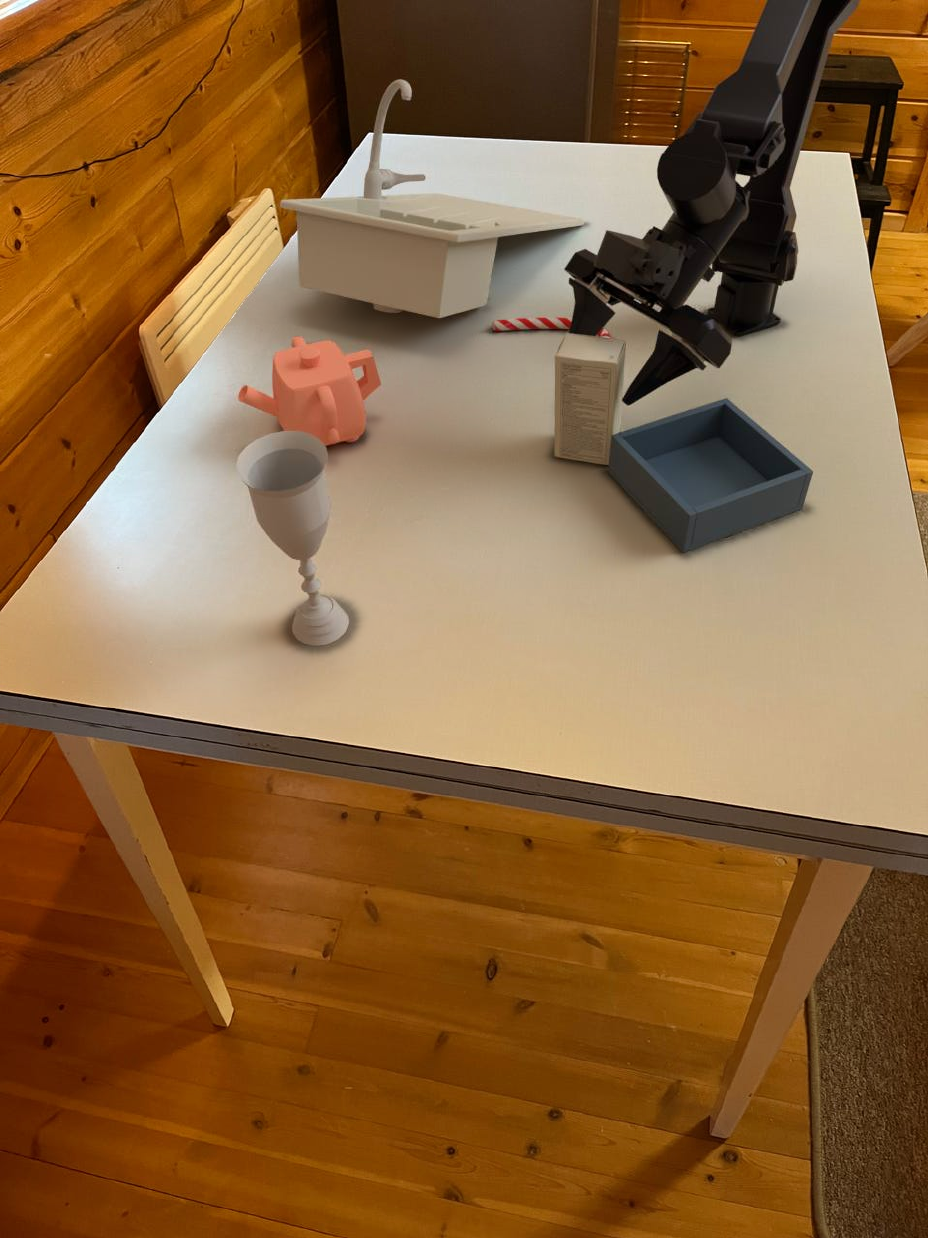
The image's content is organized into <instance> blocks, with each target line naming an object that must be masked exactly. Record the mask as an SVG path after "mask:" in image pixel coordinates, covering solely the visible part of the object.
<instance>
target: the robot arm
mask: <svg viewBox="0 0 928 1238" xmlns="http://www.w3.org/2000/svg"><path fill="white" fill-rule="evenodd" d="M860 2H861V0H766V2H765V4H764V7H763V9H762V11H761V14H760V16H759V19H758V21H757V23H756V26H755V27H754V31H753V32H752V35H751V38H750V40H749V42H748V45H747V47H746V49H745V52H744V53H743V56H742V59H741V61H740V63H739V65H738V67H737V69H736V70H735V71H734V72H733V73H732V74H730V75H729V76H728V77H726V78H724V79H723V80H721V81H720V82H719V83H718V84H717V85H716V86H715V87H714V89H713V91H712V93H711V95H710V97H709V99H708V100H707V103H706V104H705V106H704V108H703V110H702V111H700V112H699V113H697V115H696V117H695V118H694V120H692V122H691V123H690V124H689V126H688V128H687V129H686V130H685V132H684V133H683V134H682V135H681V136H679V137H677V138H676V139H675V140H673V141H672V142H671V143H670V144H669V145H668V146H667V147H666V148H665V150H664V151H663V152H662V153H661V154H660V157H659V160H658V163H657V168H656V176H657V177H656V178H657V181H658V185H659V187H660V189H661V191H662V193H663V195H664V197H665V198H666V201H667V203H668V204H669V206H670V208H671V210H672V214H671V216H670V217H669V218H668V219H667V222H666V223H665V224H664V226H663V227H662V229H660V228H659V227H656V226H655V225H654V226H652V228H650V229H648V230H647V232H646V233H645V234H644V236H643V237H642V238H639V237H636V236H633V235H631V234H625V233H621V232H617V231H613V230H608V229H606V231H605V232H604V236H603V238H602V241H601V243H600V246H599V249H598V251H597V254H596V253H595V252H592V251H591V250H589V249H586V248H583V249H581V250H577V251H576V252H574V254H573V255H572V256H571V258H570V260H569V261H568V262H567V264H566V265H565V267H564V269H563V270H564V271H565V272H566V273H567V274H568V275H569V276H570V277H568V284H569V286H571V287H572V291H573V297H574V306H573V312H572V317H571V318H572V321H571V326H570V329H568V332H567V333H570V334H579V335H588V336H596V335H597V334H598V333H599V332H600V331H601V329H602V328H605V326H606V325H607V324H608V323H609V322H610V321H611V319H612V318H613V317H615V315H616V312H615V311H614V310H613V309H612V308H611V307H612V306H615V305H617V304H621V303H622V304H624V305H625V306H627V307H629V308H631V309H633V310H634V311H636V312H638V313H640V314H641V315H643V316H645V317H646V318H648V319H649V320H651V321H653V322H655V323H656V324H659V325H660V326H662V327H663V328H665V329H667V330H669V331H670V332H671V333H672V334H671V335H670V334H668V333H666V332H665V331H662V330H660V329H658V331H657V334H656V335H657V336H656V339H655V344H654V349H653V352H652V353H651V354H650V356H649V357H648V359H647V360H646V361H645V363H644V364H643V365H642V367H641V369H640V370H639V372H638V373H637V375H636V376H635V377H634V379H633V380H632V382H631V383H630V385H629V386H628V387H627V389H626V392H624V394H623V397H622V403H624V405H626V406H627V407H628V406H631V405H633V404H635V403H637V402H638V401H639V400H641V399H643V398H645V397H647V396H648V395H649V394H651V393H652V392H654V391H656V390H657V389H659V388H660V387H663V386H664V385H666V384H667V383H669V382H672V381H673V380H676V379H677V378H679V377H681V376H683V375H685V374H688V373H690V372H692V371H693V370H696V369H699V370H700V371H704V370H705V369H707V365H706V364H705V362H706V363H708V364H710V365H711V366H713V367H714V368H716V369H721V367H722V366H723V364H724V363H725V361H726V360H727V359H728V357H729V356H730V355H731V352H732V347H733V346H732V345H733V338H732V337H731V336H730V335H729V334H728V333H727V332H726V331H725V329H726V330H728V331H729V332H730V333H732V334H733V335H734V336H737V337H740V336H743V335H747V334H750V333H753V332H757V331H760V330H763V329H766V328H771V327H773V326H776V325H779V324H780V323H781V321H782V318H781V317H779V316H778V315H776V314H775V313H774V309H775V304H776V300H777V295H778V291H779V286H780V287H782V286H783V285H784V284H785V283H786V282H787V283H788V282H791V281H793V280H794V279H795V275H796V272H797V265H798V255H799V245H798V239H797V233H796V231H794V228H795V224H796V220H797V211H796V208H795V203H794V199H793V194H792V190H791V185H792V182H793V178H794V174H795V171H796V168H797V164H798V162H799V161H798V160H799V157H800V155H801V150H802V147H803V143H804V140H805V136H806V132H807V129H808V126H809V123H810V120H811V119H810V118H811V115H812V111H813V108H814V104H815V102H816V98H817V94H818V91H819V87H820V84H821V82H822V81H821V80H822V76H823V74H824V70H825V66H826V62H827V59H828V56H829V53H830V50H831V49H830V48H831V45H832V43H833V39H834V36H835V34H836V33H837V32H838V31H839V29H841V28H842V26H843V25H844V24H845V23H846V21H848V19H849V18H850V17H851V16H852V15H853V14H854V13H855V11H856V10H857V9H858V7H859V5H860ZM737 175H740V176H745V177H749V179H748V181H747V182H746V183H745V185H744V186H742V185H741V184H740V183H739V182H738V181H737V180H736V179H737ZM717 272H718V273H721V278H720V284H718V285H717V288H716V295H715V301H714V306H712V307H710V308H707V312H706V313H707V314H705V313H703V312H701V311H700V310H698V309H697V308H694V307H692V306H691V305H688V304H685V303H686V302H687V300H688V299H689V297H690V296H691V295H692V293H693V291H694V290H695V289H696V287H697V286H698V284H699V283H700V282H701V280H703V281H705V282H707V283H710V282H711V280H712V278H713V277H714V276H715V275H716V273H717ZM655 306H657V307H659V308H661V309H660V310H659V311H658V310H657V309H655V308H654V307H655ZM718 323H719V324H718ZM721 326H723V327H724V328H725V329H724V328H722V327H721Z"/></svg>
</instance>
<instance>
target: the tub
mask: <svg viewBox="0 0 928 1238" xmlns="http://www.w3.org/2000/svg"><path fill="white" fill-rule="evenodd" d="M607 472H608V474H609V475H610V476H611V477H612V478H613V479H614V481H616V482H617V483H618V485H620V486H621V488H622V489H623V490H624V491H625V492H626V493H627V494H628V495H629V496H630V497H631V499H632V500H634V502H635V503H636V504H637V505H638V506H639V507H640V508H641V509H642V511H644V513H645V514H646V515H647V516H648V517H649V518H650V519H651V520H652V521H653V523H654V524H655V525H656V526H657V527H658V528H659V529H660V530H661V531H662V532H663V533H664V534H665V536H667V538H669V539H670V540H671V542H672V543H673V544H674V545H675V546H676V547H677V548H678V549H679V550H680V552H682V553H683V554H684V553H687V552H690V551H693V550H696V549H698V548H701V547H703V546H707V545H709V544H711V543H715V542H717V541H720V540H722V539H725V538H728V537H730V536H733V535H735V534H738V533H741V532H744V531H747V530H749V529H752V528H755V527H758V526H760V525H763V524H766V523H768V522H772V521H774V520H776V519H779V518H782V517H784V516H787V515H791V514H792V513H796V512H798V511H801V510H803V508H804V505H805V503H806V498H807V495H808V491H809V487H810V484H811V482H812V477H813V474H814V471H813V469H811V467H809V466H808V465H807V464H806V463H804V462H803V461H802V460H801V459H800V458H798V457H797V456H796V455H795V454H794V453H793V452H791V451H790V449H787V447H785V446H784V445H783V444H782V443H781V442H779V441H778V440H777V438H775V437H773V436H772V435H771V434H770V433H769V432H768V431H766V429H764V428H763V427H762V426H760V424H758V423H757V422H756V421H755V420H754V419H752V418H751V417H750V416H749V415H748V414H746V413H745V412H744V411H743V410H742V409H740V407H738V406H737V405H736V404H734V403H733V402H732V401H731V400H730V399H729V398H727V397H725V398H722V399H718V400H716V401H712V402H709V403H706V404H703V405H700V406H697V407H694V408H690V409H687V410H684V411H681V412H678V413H676V414H672V415H668V416H666V417H663V418H660V419H656V420H654V421H651V422H647V423H645V424H642V425H638V426H634V427H631V428H628V429H626V430H623V431H620V432H619V433H617V434H614V435H612V436H611V447H610V458H609V465H608V469H607Z"/></svg>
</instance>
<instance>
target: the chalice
mask: <svg viewBox="0 0 928 1238" xmlns="http://www.w3.org/2000/svg"><path fill="white" fill-rule="evenodd" d="M328 454H329V453H328V449H327V445H326V446H325V445H324V444H323V443H322V441H321V440H320V439H318V438H316V437H315V436H313V435H311V434H308V433H304V432H300V431H284V430H282V431H277V432H271V433H268V434H266V435H262V436H260V437H257V438H256V439H255V440H254V441H252V442H251V443H248V445H246V446H245V447H244V449H243V450H242V451H241V453H240V454H239V455H238V457H237V460H236V463H235V466H236V474H237V475H238V477H239V479H240V480H241V482H243V483H244V484H245V485H246V486H247V488H248V493H249V496H250V500H251V503H252V506H253V507H252V508H253V510H254V514H255V517H256V521H257V523H258V524H259V526H260V528H261V529H262V530H263V532H264V533H265V534H266V536H267V537H268V538H269V540H271V542H272V543H273V544H274V545H276V546H277V547H278V548H279V549H280V550H281V551H282V552H283V553H284V554H285V555H286V556H288V557H289V558H290V559H292V560H296V561H299V567H298V568H297V569H298V570H297V572H298V574H299V575H300V576H302V577H303V578H304V580H303V581H302V582H301V584H300V586H301V588H300V589H301V590H302V591H303V592H304V593H306V594H307V595H308V596H307V597H306V598H304V599H303V600H302V601H301V602H300V603H299V605H298V606H297V607H296V611H295V613H294V618H293V621H292V624H291V629H292V630H291V631H292V634H293V636H294V637H295V639H296V640H297V641H299V642H300V643H302V644H304V645H307V646H312V647H313V646H316V647H321V646H325V645H326V646H327V645H329V644H331V643H334V642H336V641H338V640H339V639H340V638H341V637H343V636H344V634H345V633H346V632H347V630H348V628H349V624H350V619H349V614H348V613H347V612H346V611H345V610H344V609H343V607H341V606H340V604H339V603H338V602H337V601H336V600H335V599H334V598H332V597H331V596H328V595H325V594H319V593H320V592H319V591H320V590H321V588H322V585H323V584H322V581H321V580H320V579H319V578H318V577H317V578H316V576H315V575H316V573H317V571H318V567H317V564H315V562H313V560H312V558H313V557H314V556H315V555H317V553H318V552H319V550H320V549H321V545H322V543H323V540H324V537H325V534H326V532H327V529H328V525H329V520H330V515H331V509H332V504H331V499H330V494H329V488H328V484H327V479H326V478H327V477H326V474H325V468H326V465H327V462H328V458H329V455H328Z"/></svg>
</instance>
